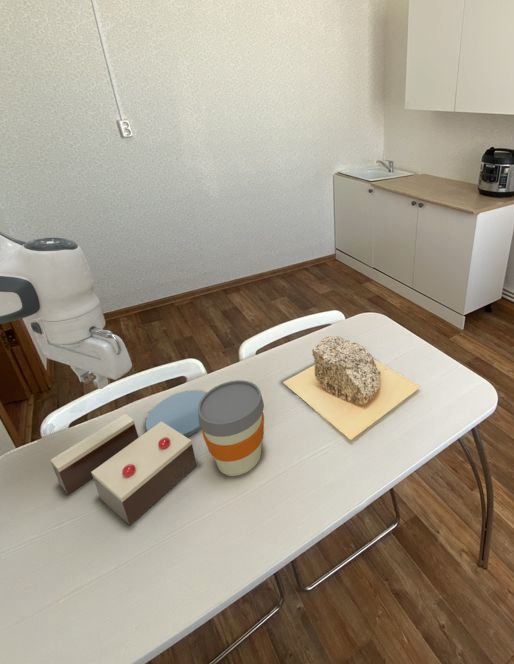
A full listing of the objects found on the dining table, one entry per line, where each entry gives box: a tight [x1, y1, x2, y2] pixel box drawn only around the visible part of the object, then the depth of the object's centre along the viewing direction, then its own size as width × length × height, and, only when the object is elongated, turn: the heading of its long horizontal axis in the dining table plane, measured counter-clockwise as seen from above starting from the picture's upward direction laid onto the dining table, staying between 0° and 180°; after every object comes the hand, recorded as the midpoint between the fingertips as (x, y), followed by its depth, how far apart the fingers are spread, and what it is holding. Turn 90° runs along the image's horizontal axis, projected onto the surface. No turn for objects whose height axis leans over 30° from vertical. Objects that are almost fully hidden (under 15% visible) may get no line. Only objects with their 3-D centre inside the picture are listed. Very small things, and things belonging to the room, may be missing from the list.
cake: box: [91, 421, 198, 526], centre depth 75 cm, size 10×14×9 cm
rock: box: [282, 335, 422, 441], centre depth 101 cm, size 28×22×16 cm
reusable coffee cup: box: [198, 379, 265, 477], centre depth 79 cm, size 13×13×15 cm
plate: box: [145, 390, 207, 438], centre depth 92 cm, size 15×15×1 cm
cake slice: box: [50, 413, 140, 496], centre depth 79 cm, size 4×14×7 cm, turn 146°
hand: (94, 383), depth 75 cm, fingers open, 3 cm apart
